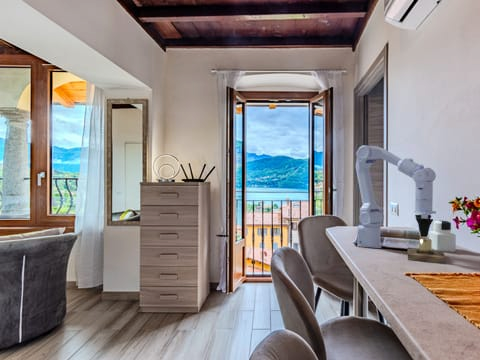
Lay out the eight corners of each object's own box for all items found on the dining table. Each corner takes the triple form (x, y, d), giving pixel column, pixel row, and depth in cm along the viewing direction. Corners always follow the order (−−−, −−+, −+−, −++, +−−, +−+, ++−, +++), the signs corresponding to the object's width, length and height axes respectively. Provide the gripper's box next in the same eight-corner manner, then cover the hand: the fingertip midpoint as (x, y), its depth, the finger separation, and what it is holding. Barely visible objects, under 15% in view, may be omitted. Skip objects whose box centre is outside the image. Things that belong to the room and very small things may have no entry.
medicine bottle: (446, 247, 139) (446, 219, 139) (455, 251, 132) (456, 222, 131) (428, 247, 140) (429, 219, 139) (437, 251, 132) (437, 222, 132)
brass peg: (419, 258, 123) (419, 240, 122) (418, 255, 126) (419, 237, 126) (431, 259, 121) (432, 240, 121) (430, 257, 125) (431, 238, 124)
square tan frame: (407, 259, 121) (407, 254, 121) (407, 252, 132) (407, 247, 132) (445, 263, 116) (445, 258, 115) (442, 255, 126) (442, 250, 126)
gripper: (437, 201, 116) (437, 239, 117) (434, 198, 129) (433, 232, 130) (415, 200, 119) (414, 237, 120) (414, 197, 132) (413, 230, 133)
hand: (423, 234), depth 125 cm, fingers open, 7 cm apart
